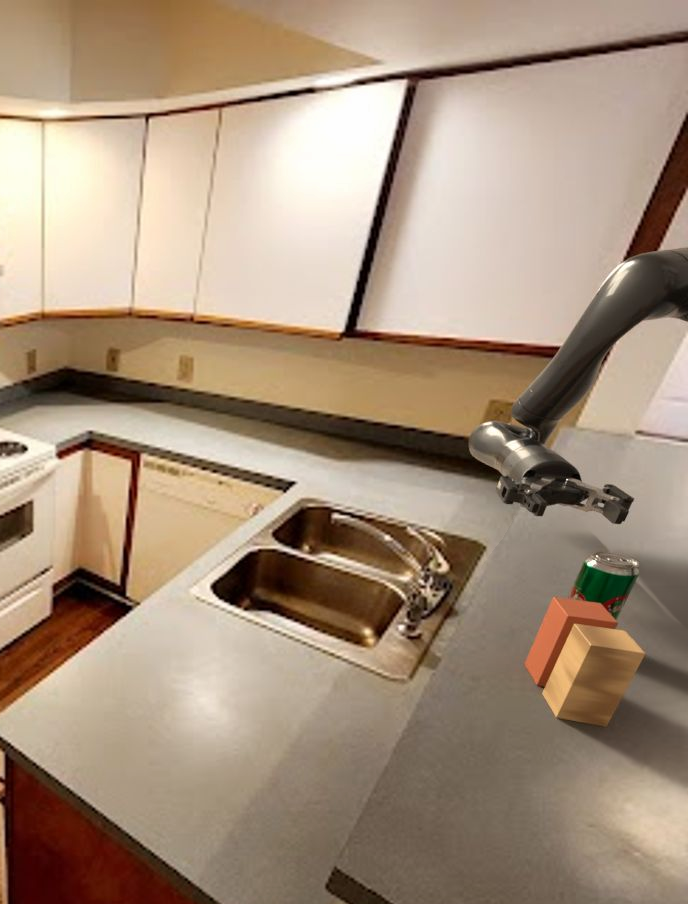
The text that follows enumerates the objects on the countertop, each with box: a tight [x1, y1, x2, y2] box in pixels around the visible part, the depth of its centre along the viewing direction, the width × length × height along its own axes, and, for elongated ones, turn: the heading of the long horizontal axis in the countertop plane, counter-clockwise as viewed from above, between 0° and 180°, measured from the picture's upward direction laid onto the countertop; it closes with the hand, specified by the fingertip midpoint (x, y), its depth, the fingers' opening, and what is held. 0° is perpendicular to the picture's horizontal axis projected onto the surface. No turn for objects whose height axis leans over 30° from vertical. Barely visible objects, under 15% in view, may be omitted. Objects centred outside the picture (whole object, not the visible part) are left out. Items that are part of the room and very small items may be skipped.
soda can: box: [566, 551, 641, 622], centre depth 80 cm, size 5×5×12 cm
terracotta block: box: [524, 596, 619, 688], centre depth 74 cm, size 4×4×10 cm
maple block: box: [541, 624, 646, 728], centre depth 69 cm, size 4×4×10 cm
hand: (580, 514), depth 86 cm, fingers open, 8 cm apart
